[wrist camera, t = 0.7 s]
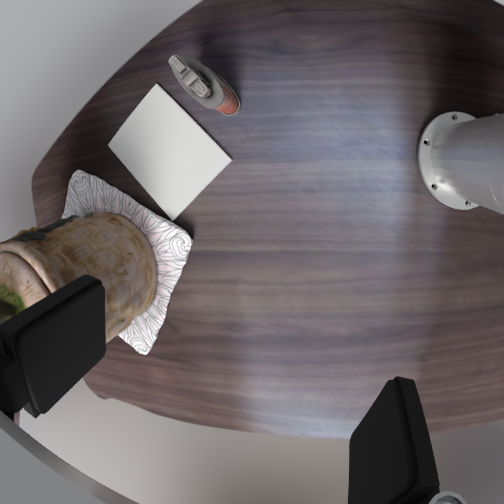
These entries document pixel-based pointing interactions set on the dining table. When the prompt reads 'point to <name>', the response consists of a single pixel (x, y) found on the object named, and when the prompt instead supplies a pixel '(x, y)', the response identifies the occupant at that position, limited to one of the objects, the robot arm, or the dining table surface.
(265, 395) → the dining table surface
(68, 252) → the cookie jar
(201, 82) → the lighter
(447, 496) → the robot arm
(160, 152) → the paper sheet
